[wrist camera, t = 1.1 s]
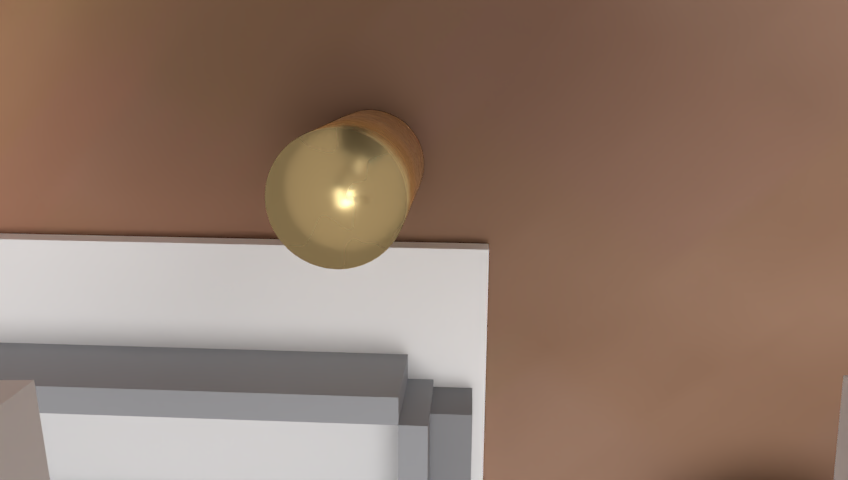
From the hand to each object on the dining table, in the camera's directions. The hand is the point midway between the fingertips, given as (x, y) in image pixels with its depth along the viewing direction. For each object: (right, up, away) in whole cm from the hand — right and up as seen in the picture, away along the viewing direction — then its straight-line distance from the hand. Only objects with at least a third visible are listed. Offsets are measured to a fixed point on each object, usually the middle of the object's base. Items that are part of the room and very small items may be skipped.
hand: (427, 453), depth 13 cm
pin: (-2, +6, +17) cm, 18 cm away
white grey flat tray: (-9, -4, +20) cm, 22 cm away
